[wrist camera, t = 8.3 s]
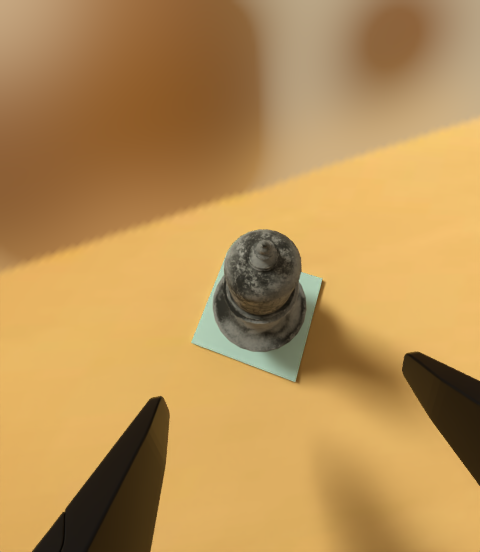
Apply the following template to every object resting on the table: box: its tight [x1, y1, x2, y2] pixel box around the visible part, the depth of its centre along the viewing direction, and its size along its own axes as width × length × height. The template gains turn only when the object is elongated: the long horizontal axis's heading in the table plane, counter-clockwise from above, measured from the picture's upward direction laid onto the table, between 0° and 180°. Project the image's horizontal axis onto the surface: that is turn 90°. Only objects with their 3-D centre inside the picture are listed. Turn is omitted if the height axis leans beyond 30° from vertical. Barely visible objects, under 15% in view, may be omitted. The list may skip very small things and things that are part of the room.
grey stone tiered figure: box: [213, 230, 307, 352], centre depth 13 cm, size 6×6×12 cm
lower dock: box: [191, 254, 322, 382], centre depth 19 cm, size 8×8×1 cm
